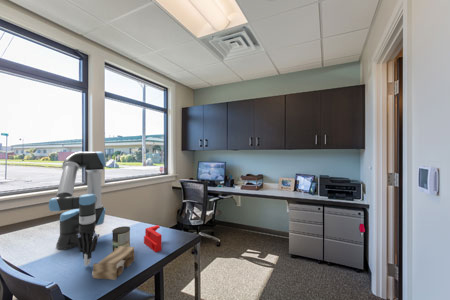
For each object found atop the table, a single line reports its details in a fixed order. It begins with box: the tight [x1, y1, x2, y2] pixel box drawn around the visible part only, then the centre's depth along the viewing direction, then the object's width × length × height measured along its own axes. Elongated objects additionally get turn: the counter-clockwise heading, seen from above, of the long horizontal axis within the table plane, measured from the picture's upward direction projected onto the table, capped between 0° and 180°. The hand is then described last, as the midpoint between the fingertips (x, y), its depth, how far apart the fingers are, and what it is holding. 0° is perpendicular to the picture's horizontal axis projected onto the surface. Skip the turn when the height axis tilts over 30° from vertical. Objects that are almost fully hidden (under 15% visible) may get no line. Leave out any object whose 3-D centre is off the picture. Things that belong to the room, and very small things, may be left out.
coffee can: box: [111, 225, 131, 253], centre depth 128 cm, size 10×10×14 cm
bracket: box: [143, 224, 163, 253], centre depth 136 cm, size 18×10×10 cm
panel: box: [91, 260, 126, 277], centre depth 108 cm, size 12×12×4 cm
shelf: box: [92, 246, 135, 281], centre depth 108 cm, size 12×17×8 cm
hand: (87, 264), depth 110 cm, fingers closed
